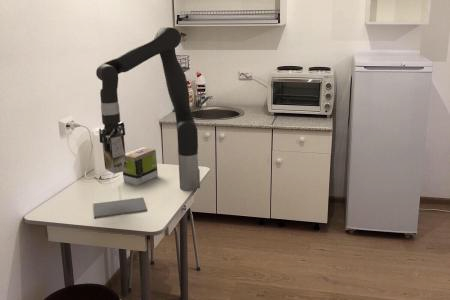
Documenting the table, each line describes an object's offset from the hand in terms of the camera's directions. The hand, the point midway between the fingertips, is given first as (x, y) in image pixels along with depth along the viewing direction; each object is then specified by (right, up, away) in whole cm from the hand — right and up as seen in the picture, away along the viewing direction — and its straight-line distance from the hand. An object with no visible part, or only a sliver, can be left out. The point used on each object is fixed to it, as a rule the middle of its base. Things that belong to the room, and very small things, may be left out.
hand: (113, 148), depth 210 cm
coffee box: (0, -9, +3) cm, 10 cm away
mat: (+2, -26, +1) cm, 26 cm away
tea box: (+6, -15, +35) cm, 39 cm away
